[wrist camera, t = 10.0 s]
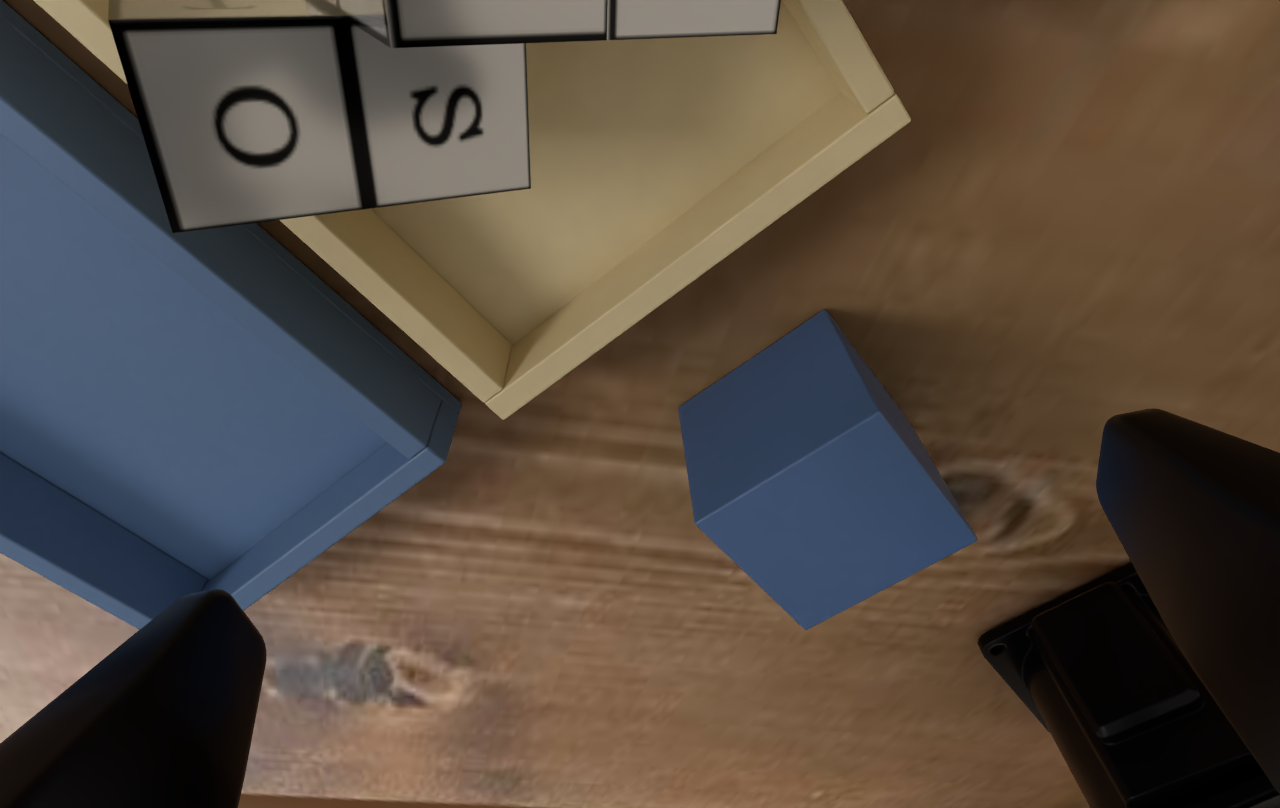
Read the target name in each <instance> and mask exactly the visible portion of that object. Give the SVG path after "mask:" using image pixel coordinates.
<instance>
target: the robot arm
mask: <svg viewBox="0 0 1280 808" xmlns="http://www.w3.org/2000/svg"><path fill="white" fill-rule="evenodd" d="M1096 487H1097V494H1098V498H1099V501H1100V504H1101V506H1102V508H1103V510H1104V512H1105V514H1106V515H1107V517H1108V519H1109V521H1110V523H1111V525H1112V527H1113V528H1114V530H1115V532H1116V534H1117V536H1118V538H1119V540H1120V541H1121V543H1122V545H1123V547H1124V549H1125V551H1126V553H1127V554H1128V556H1129V558H1130V560H1131V562H1132V563H1130V564H1128V565H1126V566H1124V567H1122V568H1120V569H1117V570H1115V571H1113V572H1111V573H1109V574H1107V575H1105V576H1103V577H1101V578H1099V579H1097V580H1095V581H1092V582H1090V583H1088V584H1086V585H1084V586H1082V587H1080V588H1078V589H1076V590H1074V591H1072V592H1070V593H1067V594H1065V595H1063V596H1061V597H1059V598H1057V599H1055V600H1053V601H1051V602H1049V603H1047V604H1045V605H1042V606H1040V607H1038V608H1036V609H1034V610H1032V611H1030V612H1028V613H1026V614H1024V615H1022V616H1020V617H1017V618H1015V619H1013V620H1011V621H1009V622H1007V623H1005V624H1003V625H1001V626H999V627H997V628H994V629H992V630H990V631H988V632H986V633H985V634H983V635H982V636H981V637H980V638H979V640H978V645H979V647H980V649H981V651H982V653H983V655H984V657H985V658H986V659H987V661H988V662H989V663H990V664H991V665H992V666H993V668H994V669H995V670H996V671H997V672H998V673H999V674H1000V676H1001V677H1002V678H1003V679H1004V680H1005V681H1006V683H1007V684H1008V685H1009V686H1010V687H1011V688H1012V690H1013V691H1014V692H1015V693H1016V694H1017V695H1018V697H1019V698H1020V699H1021V700H1022V701H1023V702H1024V704H1025V705H1026V706H1027V707H1028V708H1029V709H1030V711H1031V712H1032V713H1033V714H1034V715H1035V716H1036V717H1037V719H1038V720H1039V721H1040V722H1041V723H1042V724H1043V726H1044V727H1045V728H1046V729H1047V730H1048V731H1049V732H1050V733H1051V735H1052V737H1053V738H1054V740H1055V742H1056V744H1057V746H1058V748H1059V750H1060V752H1061V753H1062V755H1063V757H1064V759H1065V761H1066V763H1067V765H1068V767H1069V768H1070V770H1071V772H1072V774H1073V776H1074V778H1075V780H1076V782H1077V783H1078V785H1079V787H1080V789H1081V791H1082V793H1083V795H1084V796H1085V798H1086V800H1087V802H1088V804H1089V806H1090V808H1280V453H1278V452H1276V451H1273V450H1270V449H1267V448H1265V447H1262V446H1259V445H1256V444H1254V443H1251V442H1248V441H1246V440H1243V439H1240V438H1237V437H1235V436H1232V435H1229V434H1226V433H1224V432H1221V431H1218V430H1215V429H1213V428H1210V427H1207V426H1205V425H1202V424H1199V423H1196V422H1194V421H1191V420H1188V419H1185V418H1183V417H1180V416H1177V415H1174V414H1172V413H1169V412H1166V411H1163V410H1160V409H1145V410H1140V411H1135V412H1129V413H1124V414H1119V415H1115V416H1113V417H1111V418H1110V419H1109V420H1108V421H1107V422H1106V424H1105V426H1104V430H1103V436H1102V443H1101V450H1100V458H1099V465H1098V472H1097V480H1096ZM265 664H266V647H265V643H264V640H263V637H262V636H261V634H260V633H259V631H258V630H257V629H256V627H255V626H254V625H253V623H252V622H251V621H250V619H249V618H248V617H247V615H246V614H245V613H244V611H243V610H242V609H241V607H240V606H239V605H238V603H237V602H236V600H235V599H234V598H233V597H232V596H231V594H229V593H228V592H226V591H224V590H220V589H213V590H208V591H202V592H197V593H192V594H188V595H185V596H182V597H180V598H179V599H177V600H176V601H174V602H173V603H172V604H171V605H170V606H168V607H167V608H166V609H165V610H163V611H162V612H161V613H160V614H159V615H157V616H156V617H155V618H154V619H152V620H151V621H150V622H149V623H148V624H146V625H145V626H144V627H143V628H141V629H140V630H139V631H138V632H136V633H135V634H134V635H133V636H132V637H130V638H129V639H128V640H127V641H125V642H124V643H123V644H122V645H121V646H119V647H118V648H117V649H116V650H114V651H113V652H112V653H111V654H110V655H108V656H107V657H106V658H105V659H103V660H102V661H101V662H100V663H98V664H97V665H96V666H95V667H94V668H92V669H91V670H90V671H89V672H87V673H86V674H85V675H84V676H83V677H81V678H80V679H79V680H78V681H76V682H75V683H74V684H73V685H72V686H70V687H69V688H68V689H67V690H65V691H64V692H63V693H62V694H60V695H59V696H58V697H57V698H56V699H54V700H53V701H52V702H51V703H49V704H48V705H47V706H46V707H45V708H43V709H42V710H41V711H40V712H38V713H37V714H36V715H35V716H34V717H32V718H31V719H30V720H29V721H27V722H26V723H25V724H24V725H22V726H21V727H20V728H19V729H18V730H16V731H15V732H14V733H13V734H11V735H10V736H9V737H8V738H7V739H5V740H4V741H3V742H2V743H0V808H238V803H239V800H240V795H241V791H242V786H243V781H244V777H245V772H246V766H247V761H248V755H249V750H250V745H251V739H252V734H253V729H254V723H255V718H256V713H257V707H258V702H259V697H260V691H261V686H262V681H263V675H264V670H265Z"/></svg>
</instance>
